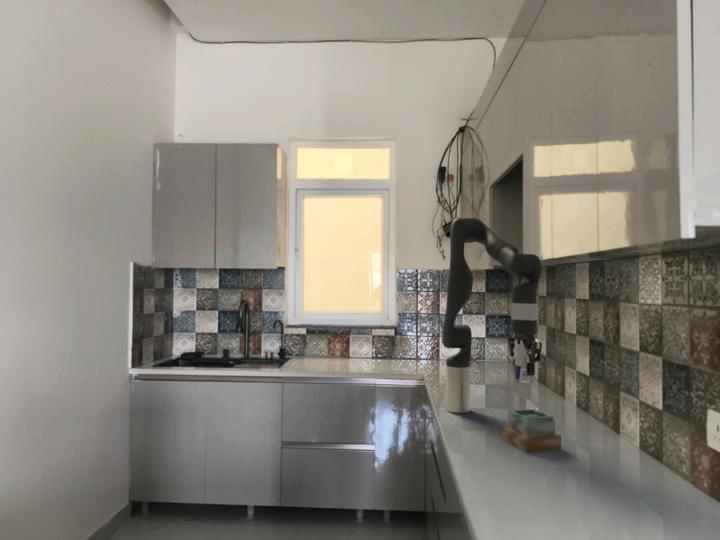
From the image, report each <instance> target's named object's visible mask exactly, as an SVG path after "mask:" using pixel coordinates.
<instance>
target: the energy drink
mask: <svg viewBox="0 0 720 540" xmlns="http://www.w3.org/2000/svg"><path fill="white" fill-rule="evenodd" d="M526 349H527V348H526ZM531 351H532V349H527V352H531ZM529 356H530V358H531V355H529ZM514 373H515V374H514V379H515V380H514V381H515V383H516V384H518V385H522V386H523V385H528V386H529V385H530V386H531V385H533V384H534V382H535V374H534V375H532V376H529V375H527V360H526V356H525V355H524V347H523V346H522V344H516V345H515V359H514Z"/></svg>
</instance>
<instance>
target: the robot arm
mask: <svg viewBox="0 0 720 540" xmlns="http://www.w3.org/2000/svg"><path fill="white" fill-rule="evenodd" d="M449 231H450V236H449V237H450V238H449V241H450V242H449V243H450V244H449V246H450V249H449V250H450V251H449V252H450V253H449V269H448V270H449V271H448V272H449V273H448V279H447V291H446V307H445V315H444V320H443V325H442V326H443V327H442V332H441V333H442V335H441V340H442V342H441V343H442V345H443V347H444V348H446V349H459V350H458V352H456V353H455V354H453V355H451V356H448V357H447V358H446V360H445V379H446V380H445V381H446V383H445V410H446V411H448V412H450V413H456V414H464V413H465V414H466V413H470V412H471V360H472V359H471V358H472V337H473V336H472V329H471V327H470V326H469V325H468V324H455V323H456V319H457V316H458V315H459V313H460V311H461V310H462V309H463V308H464V307H465V305H466V304H467V302H469V300H470V298H471V296H472V294H473V284H474V276H473V273H472V271H471V268H470V267H469V265H468V263H467V260H466V258H465V244H468V243H470V244H471V243H478V244H482V245H483V246H484V247H485V251H486V254H488V255H489V257H491V258H492V259H493V260H495V261H496V262H498V263H499V264H500V265H501V266H502V267H503V269H504V270H505V271H506V272H507V273H508V274H510V275H512V276H514V277H522V279H521V282H520V283H518V284H514V285H513V287H512V289H511V298H512V299H511V303H512V304H511V316H510V317H511V320H510V321H511V323H510V324H511V325H510V326H511V333H512V334H514V336H513V337H508V347H509V356H510V357H513V358H512V359H514V360H515V345H516V344H522V346H523V347H524V355H525V356H526V360H527V375H529V376H532V375H534V376H535V373H536V371H535V370H536V365H535V364H536V363H537V362H540V361H541V356H542V350H543V349H542V348H543V343H542V341H536V337H535V335H536V334H538V308H537V307H538V306H537V290H538V289H537V288H538V285H539V282H540V277H541V273H542V271H543V270H542V266H543V265H542V261H541V259H540V257H539V256H538V255H536V254H534V253H532V254H531V253H519V249H518V248H517V247H516V246H515V245H513V244H512V243H510V242H508V241H507V240H504V239H503V238H501V237H500V236H498V235H497V234H496V233H495V232H494V231H493V230H491V229H490V228H489V227H488V226H487V225H486V223H485V222H483V221H481V220H480V219H479V218H476V217H457V218H456V217H455V219H453V221H452V222H451V226H450V230H449ZM526 348H527V349H532V351H531V352H527V349H526ZM529 355H531V358H530V356H529Z"/></svg>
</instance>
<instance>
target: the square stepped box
mask: <svg viewBox="0 0 720 540" xmlns="http://www.w3.org/2000/svg"><path fill="white" fill-rule="evenodd" d="M508 413H509V414H507V425H505V426H503V425H502V426H501V427H502V428H501V429H502V430H501V431H502V440H503V441H505V442H506V443H508V444H510V445H512V446H514V447H516V448H517V449H518V450H521V451H522V452H525V453H526V454H530V453H531V454H532V453H540V452H547V451H548V452H550V451H557V450H562V435H561V434H558V433H556V420H554V416H552V415H550V414H547V413H545V412H542V411H540V410H537V409H535V408H528V409H515V410H509V412H508Z"/></svg>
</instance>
